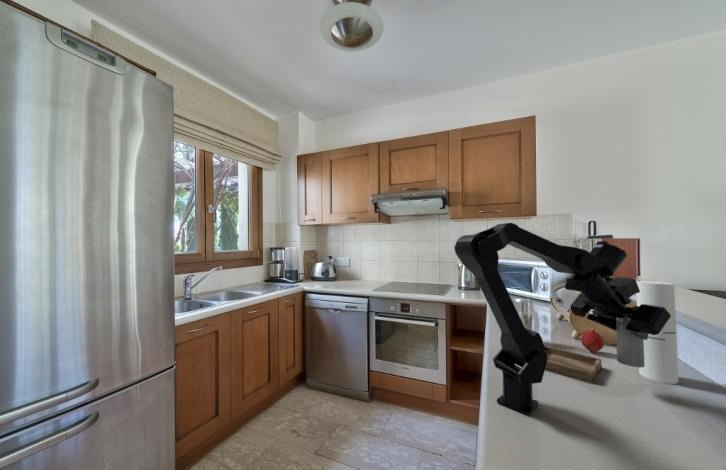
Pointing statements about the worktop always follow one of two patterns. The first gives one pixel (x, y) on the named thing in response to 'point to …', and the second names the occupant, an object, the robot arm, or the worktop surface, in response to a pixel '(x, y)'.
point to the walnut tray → (573, 364)
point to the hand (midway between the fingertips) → (634, 335)
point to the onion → (592, 341)
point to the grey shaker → (628, 345)
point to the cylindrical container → (660, 334)
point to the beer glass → (525, 311)
